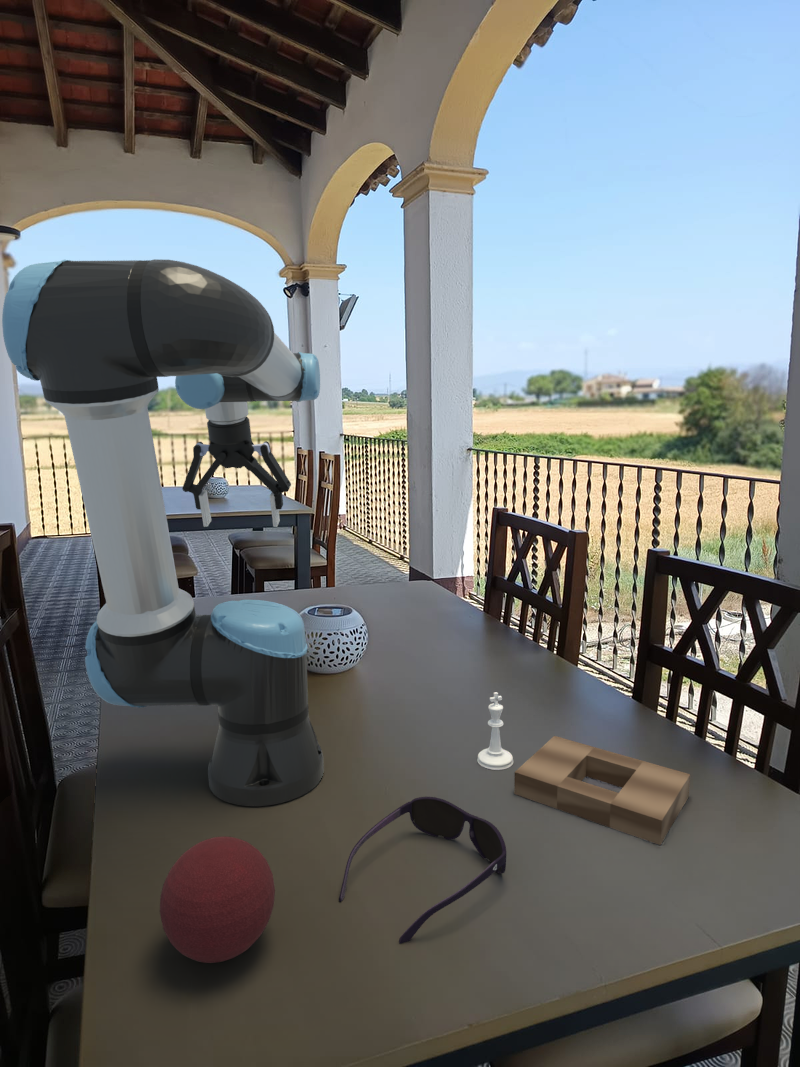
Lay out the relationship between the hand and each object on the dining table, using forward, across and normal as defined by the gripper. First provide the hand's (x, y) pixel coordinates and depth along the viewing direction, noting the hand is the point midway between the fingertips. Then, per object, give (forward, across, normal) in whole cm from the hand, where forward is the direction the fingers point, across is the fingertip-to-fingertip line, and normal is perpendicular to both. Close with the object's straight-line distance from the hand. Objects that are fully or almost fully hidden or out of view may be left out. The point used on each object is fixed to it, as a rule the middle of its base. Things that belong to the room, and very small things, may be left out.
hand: (242, 523), depth 133 cm
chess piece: (+13, -46, +48) cm, 68 cm away
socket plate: (+11, -58, +56) cm, 81 cm away
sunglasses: (+7, -36, +72) cm, 81 cm away
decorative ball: (+4, -18, +81) cm, 83 cm away
